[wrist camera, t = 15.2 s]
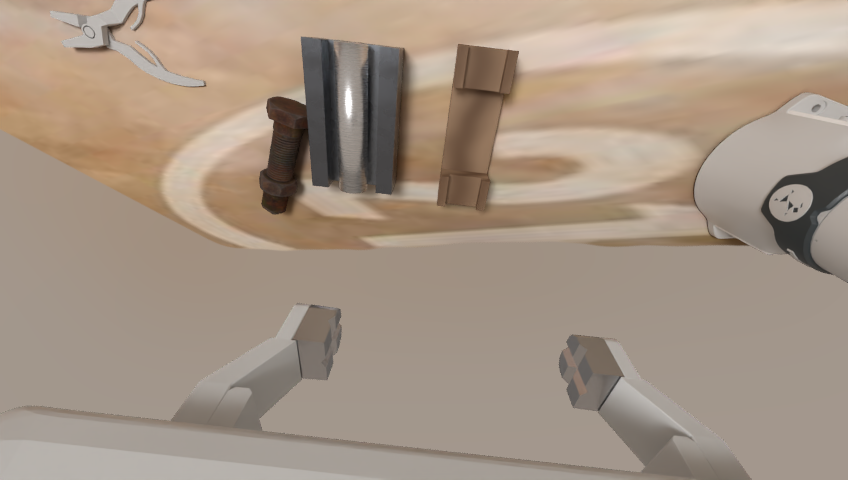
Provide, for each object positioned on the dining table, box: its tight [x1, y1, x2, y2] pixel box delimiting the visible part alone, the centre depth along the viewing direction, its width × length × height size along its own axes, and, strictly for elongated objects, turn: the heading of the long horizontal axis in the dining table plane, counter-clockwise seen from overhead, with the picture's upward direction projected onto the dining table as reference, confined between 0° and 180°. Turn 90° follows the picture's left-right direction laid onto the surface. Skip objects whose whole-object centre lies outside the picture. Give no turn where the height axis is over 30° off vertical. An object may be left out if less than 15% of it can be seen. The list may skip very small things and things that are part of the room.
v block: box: [301, 37, 404, 194], centre depth 39 cm, size 10×16×4 cm, turn 174°
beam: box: [437, 44, 519, 211], centre depth 39 cm, size 6×18×4 cm, turn 174°
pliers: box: [50, 0, 206, 86], centre depth 37 cm, size 10×2×15 cm
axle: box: [334, 41, 368, 193], centre depth 37 cm, size 16×4×4 cm, turn 174°
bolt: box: [259, 97, 308, 214], centre depth 42 cm, size 6×5×15 cm
